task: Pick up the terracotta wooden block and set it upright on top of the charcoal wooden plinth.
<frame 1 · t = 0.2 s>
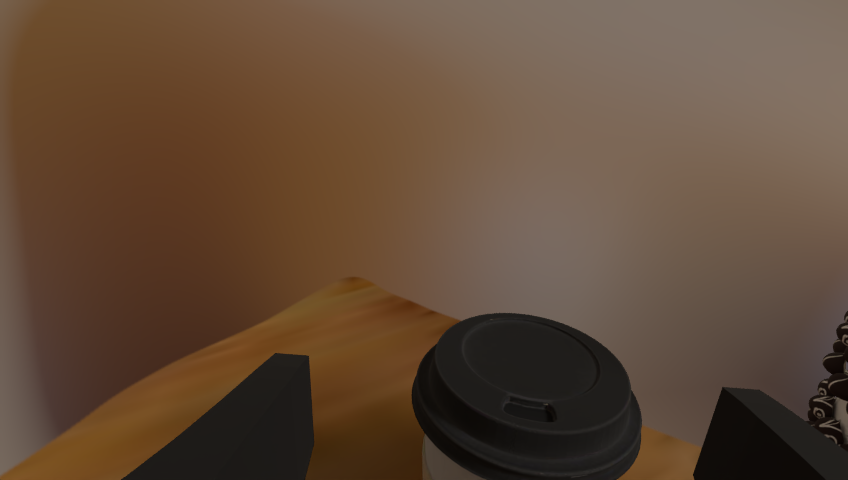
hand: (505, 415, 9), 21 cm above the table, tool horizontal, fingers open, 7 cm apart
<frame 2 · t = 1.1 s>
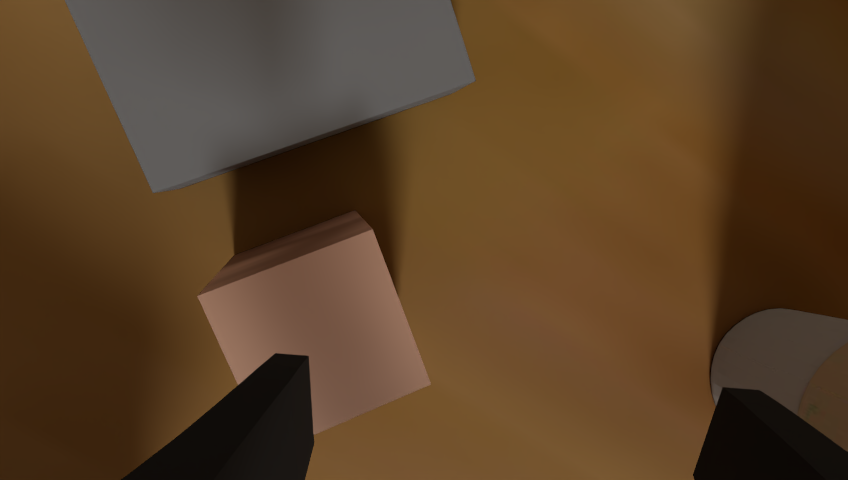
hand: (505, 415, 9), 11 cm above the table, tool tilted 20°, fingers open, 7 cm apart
terracotta block: (319, 289, 19), on the table
coffee cup: (763, 368, 24), on the table
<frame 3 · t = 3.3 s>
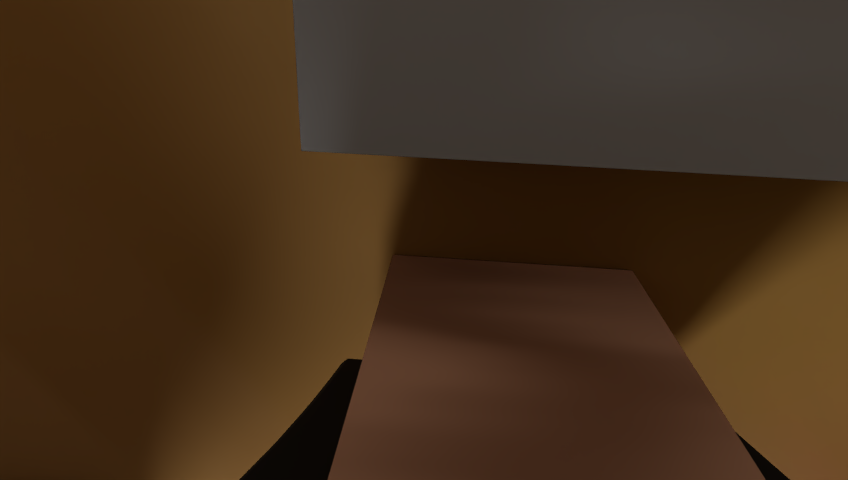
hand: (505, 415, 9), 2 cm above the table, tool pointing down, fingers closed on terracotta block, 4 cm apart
terracotta block: (499, 360, 11), on the table, touching gripper
when the fingers open (6 cm above the table, at t = 6.7 s): terracotta block drops 2 cm, resting on charcoal plinth.
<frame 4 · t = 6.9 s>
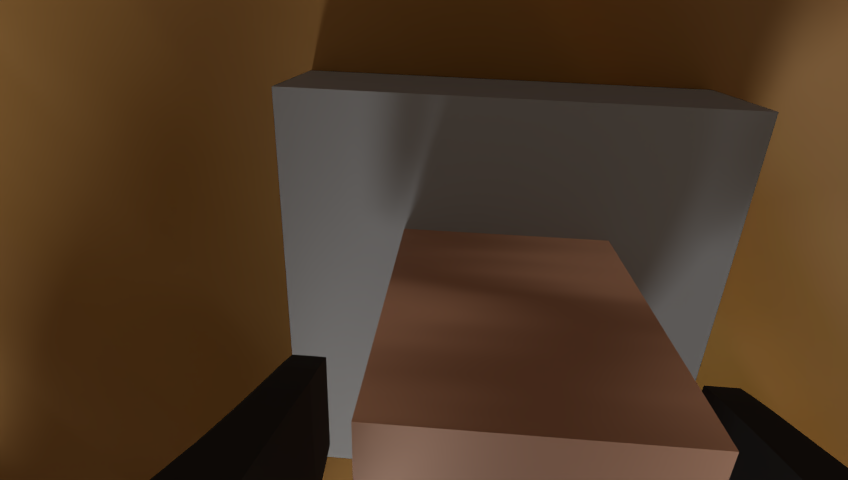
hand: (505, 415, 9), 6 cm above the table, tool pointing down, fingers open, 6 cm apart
terracotta block: (496, 321, 13), point 3 cm above the table, touching charcoal plinth
charcoal plinth: (489, 259, 15), on the table
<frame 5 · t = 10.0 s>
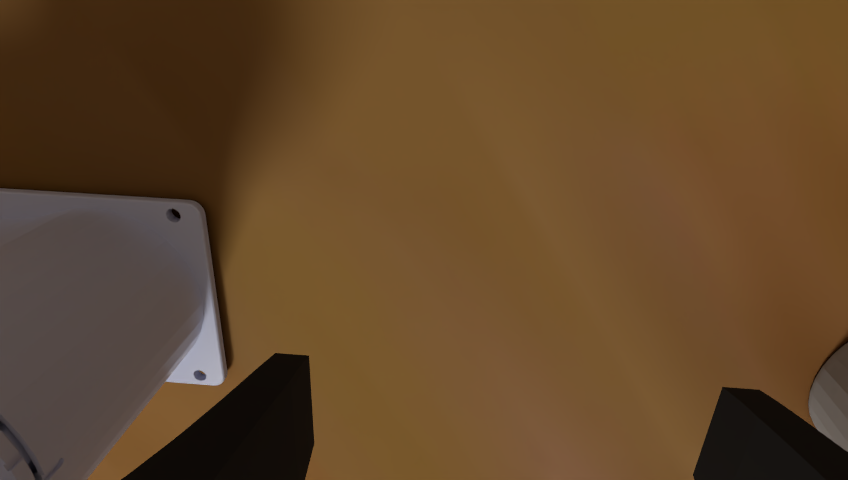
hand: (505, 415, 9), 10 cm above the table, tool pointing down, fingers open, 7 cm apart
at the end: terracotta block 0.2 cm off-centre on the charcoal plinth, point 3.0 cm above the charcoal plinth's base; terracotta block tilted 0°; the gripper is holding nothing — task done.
